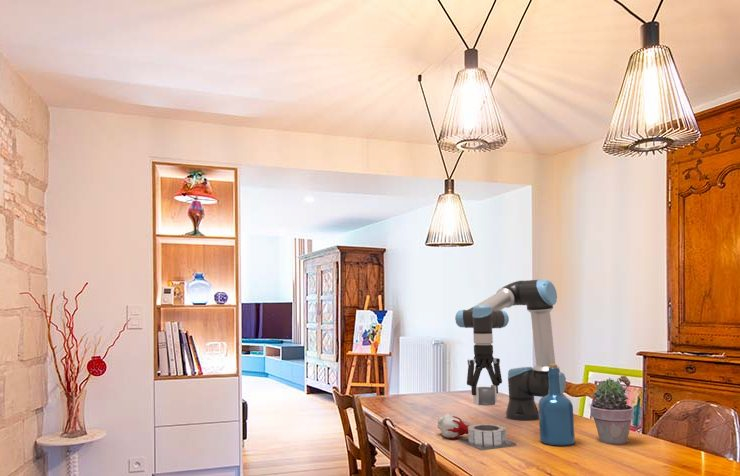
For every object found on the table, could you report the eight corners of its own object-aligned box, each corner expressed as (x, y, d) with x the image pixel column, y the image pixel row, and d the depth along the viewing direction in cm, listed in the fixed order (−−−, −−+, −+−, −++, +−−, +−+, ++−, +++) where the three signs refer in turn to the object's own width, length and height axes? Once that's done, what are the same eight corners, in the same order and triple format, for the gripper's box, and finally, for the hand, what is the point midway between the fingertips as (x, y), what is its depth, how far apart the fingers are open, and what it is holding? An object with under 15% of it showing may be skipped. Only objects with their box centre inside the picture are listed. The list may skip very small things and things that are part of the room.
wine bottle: (571, 448, 212) (566, 366, 216) (535, 444, 219) (531, 365, 223) (579, 440, 224) (574, 363, 227) (545, 436, 231) (541, 361, 234)
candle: (437, 431, 241) (472, 438, 236) (431, 437, 230) (468, 445, 225) (439, 410, 241) (474, 416, 236) (433, 415, 231) (470, 421, 226)
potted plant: (575, 439, 226) (571, 375, 228) (612, 434, 233) (608, 372, 236) (610, 449, 209) (606, 380, 212) (649, 443, 217) (644, 377, 220)
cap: (488, 401, 229) (487, 386, 230) (499, 404, 222) (498, 388, 222) (471, 403, 226) (471, 387, 227) (482, 406, 219) (481, 390, 220)
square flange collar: (492, 436, 233) (492, 422, 233) (516, 445, 218) (515, 429, 219) (458, 440, 227) (458, 425, 227) (481, 450, 212) (480, 434, 213)
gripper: (499, 342, 234) (501, 399, 231) (456, 344, 226) (457, 403, 224) (510, 343, 227) (512, 402, 224) (465, 345, 219) (467, 406, 217)
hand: (485, 402), depth 224 cm, fingers closed on cap, 8 cm apart
